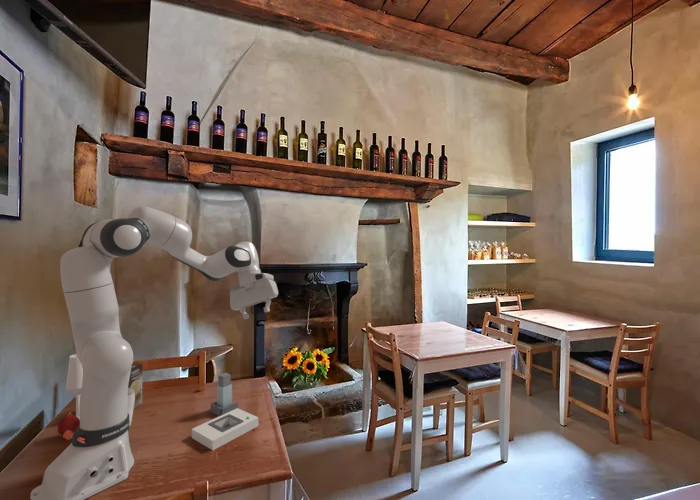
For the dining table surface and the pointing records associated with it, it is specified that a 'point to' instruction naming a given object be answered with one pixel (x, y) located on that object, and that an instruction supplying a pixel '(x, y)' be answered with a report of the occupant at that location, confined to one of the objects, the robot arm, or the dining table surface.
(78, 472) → the robot arm
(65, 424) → the onion
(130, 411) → the cup
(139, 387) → the coffee box
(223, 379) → the plug
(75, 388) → the champagne flute
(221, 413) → the holster
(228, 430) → the block
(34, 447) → the dining table surface
